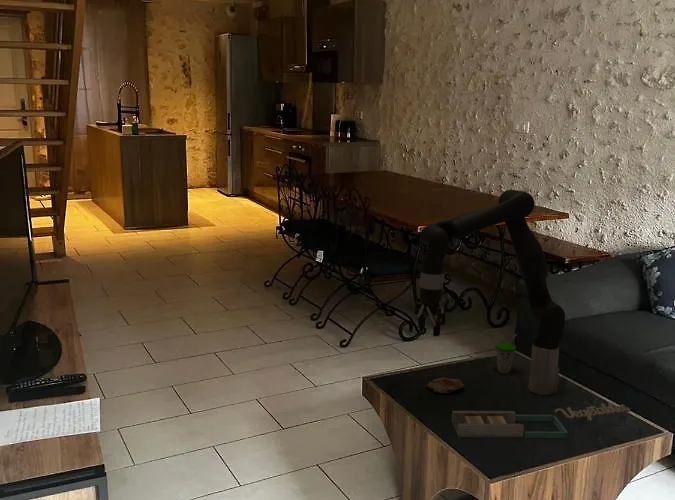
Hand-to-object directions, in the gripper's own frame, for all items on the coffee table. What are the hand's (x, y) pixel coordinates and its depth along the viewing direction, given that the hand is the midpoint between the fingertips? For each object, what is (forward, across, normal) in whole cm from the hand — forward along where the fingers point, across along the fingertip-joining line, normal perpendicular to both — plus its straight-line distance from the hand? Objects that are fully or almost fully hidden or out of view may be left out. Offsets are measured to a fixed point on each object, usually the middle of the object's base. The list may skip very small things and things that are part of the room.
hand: (428, 331), depth 220 cm
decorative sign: (+26, -32, -47) cm, 62 cm away
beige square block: (+24, -24, -2) cm, 34 cm away
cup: (+25, +9, -43) cm, 51 cm away
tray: (+25, -34, -20) cm, 47 cm away
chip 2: (+24, -27, -8) cm, 37 cm away
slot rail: (+25, -26, -5) cm, 37 cm away
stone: (+26, +5, -12) cm, 29 cm away
